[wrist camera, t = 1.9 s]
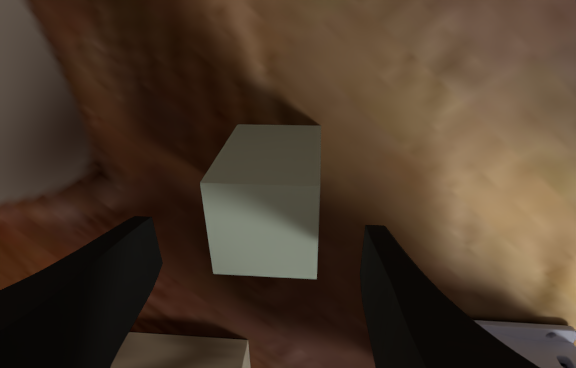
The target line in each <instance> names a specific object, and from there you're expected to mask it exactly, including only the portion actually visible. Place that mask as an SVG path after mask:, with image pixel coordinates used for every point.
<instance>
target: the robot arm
mask: <svg viewBox="0 0 576 368" xmlns="http://www.w3.org/2000/svg"><path fill="white" fill-rule="evenodd" d="M162 264H163V263H162V258H161V254H160V250H159V246H158V241H157V237H156V233H155V228H154V224H153V220H152V217H141V216H134V217H132V218H130V219H128V220H127V221H125V222H123V223H121V224H120V225H118V226H116V227H115V228H113V229H111V230H110V231H108V232H106V233H105V234H103V235H102V236H100V237H98V238H97V239H95V240H93V241H92V242H90V243H88V244H87V245H85V246H84V247H82V248H80V249H79V250H77V251H75V252H73V253H72V254H70V255H68V256H66V257H65V258H63V259H61V260H59V261H57V262H56V263H54V264H52V265H50V266H49V267H47V268H45V269H43V270H41V271H39V272H37V273H35V274H33V275H31V276H29V277H27V278H25V279H23V280H21V281H19V282H17V283H15V284H13V285H11V286H8V287H6V288H4V289H2V290H0V368H110V367H111V365H112V363H113V361H114V359H115V357H116V355H117V353H118V351H119V349H120V347H121V345H122V344H123V342H124V340H125V338H126V336H127V335H128V333H129V331H130V329H131V328H132V326H133V324H134V322H135V320H136V319H137V317H138V315H139V313H140V312H141V310H142V308H143V306H144V304H145V303H146V301H147V299H148V297H149V295H150V293H151V291H152V290H153V287H154V285H155V282H156V280H157V277H158V275H159V272H160V269H161V266H162ZM360 279H361V292H362V302H363V307H364V312H365V317H366V322H367V327H368V332H369V337H370V342H371V347H372V351H373V356H374V361H375V366H376V368H576V347H575V345H574V344H573V343H574V341H575V339H576V331H575V329H574V328H573V327H571V326H565V325H548V324H531V323H514V322H498V321H481V320H472V319H471V318H470V317H469V316H467V315H466V314H465V313H464V312H463V311H462V310H461V309H459V308H458V307H457V306H456V305H455V304H454V303H453V302H451V301H450V300H449V299H448V298H447V297H446V296H445V295H444V294H443V293H442V292H441V291H440V290H439V289H438V288H437V287H436V286H435V285H434V284H433V283H432V282H431V281H430V280H429V279H428V278H427V277H426V276H425V275H424V273H423V272H422V271H421V270H420V269H419V268H418V267H417V265H416V264H415V263H414V262H413V261H412V260H411V258H410V257H409V256H408V255H407V254H406V252H405V251H404V250H403V249H402V247H401V246H400V245H399V243H398V242H397V241H396V240H395V238H394V237H393V236H392V234H391V233H390V232H389V230H388V229H387V228H386V227H385V226H379V225H365V234H364V242H363V251H362V260H361V269H360Z"/></svg>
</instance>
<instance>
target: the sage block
mask: <svg viewBox="0 0 576 368" xmlns="http://www.w3.org/2000/svg"><path fill="white" fill-rule="evenodd" d="M320 164H321V126H309V125H251V124H238V125H237V126H236V128H235V129H234V131H233V132H232V134H231V135H230V137H229V138H228V140H227V142H226V143H225V145H224V146H223V148H222V149H221V151H220V152H219V154H218V156H217V157H216V159H215V160H214V162H213V163H212V165H211V166H210V168H209V170H208V171H207V173H206V174H205V176H204V177H203V179H202V180H201V182H200V187H201V194H202V200H203V207H204V214H205V221H206V228H207V235H208V241H209V248H210V255H211V262H212V269H213V274H226V275H245V276H264V277H283V278H302V279H317V260H318V233H319V205H320Z"/></svg>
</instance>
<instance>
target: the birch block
mask: <svg viewBox="0 0 576 368" xmlns="http://www.w3.org/2000/svg"><path fill="white" fill-rule="evenodd" d="M110 368H251V367H250V356H249V346H248V340H241V339H226V338H211V337H196V336H181V335H166V334H151V333H136V332H129V333H128V335H127V336H126V338H125V340H124V342H123V344H122V345H121V347H120V349H119V351H118V353H117V355H116V357H115V359H114V361H113V363H112V365H111V367H110Z"/></svg>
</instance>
